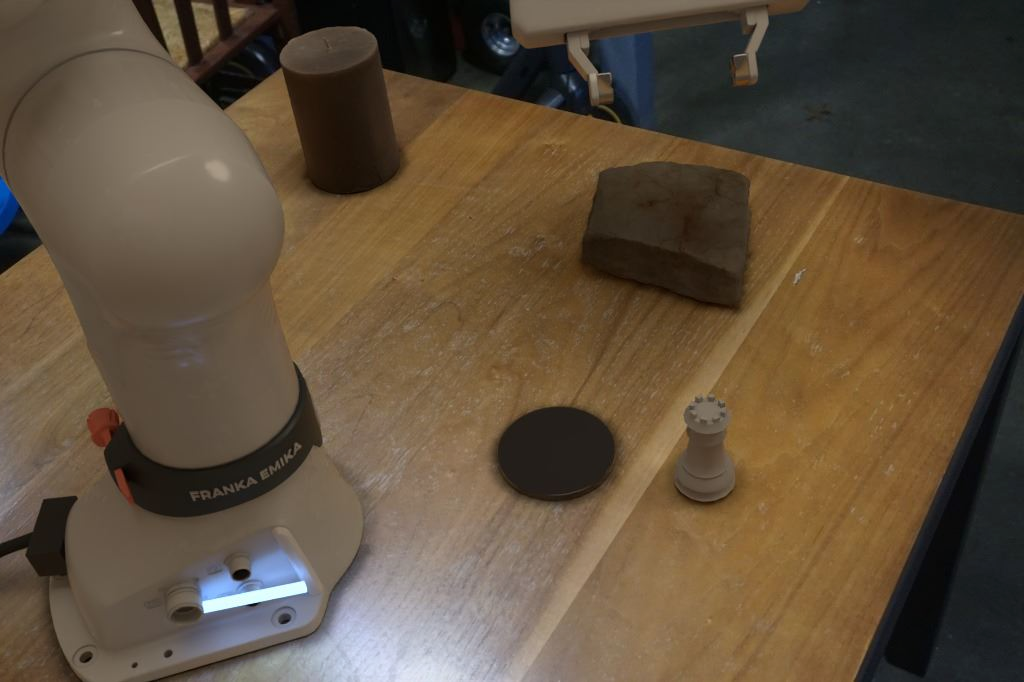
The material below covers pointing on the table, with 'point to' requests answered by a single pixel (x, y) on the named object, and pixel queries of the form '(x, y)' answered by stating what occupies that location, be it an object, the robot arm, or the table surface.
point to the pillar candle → (341, 108)
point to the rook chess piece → (705, 452)
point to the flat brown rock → (672, 228)
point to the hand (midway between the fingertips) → (673, 93)
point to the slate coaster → (556, 453)
